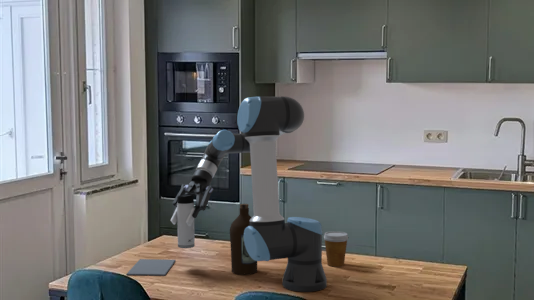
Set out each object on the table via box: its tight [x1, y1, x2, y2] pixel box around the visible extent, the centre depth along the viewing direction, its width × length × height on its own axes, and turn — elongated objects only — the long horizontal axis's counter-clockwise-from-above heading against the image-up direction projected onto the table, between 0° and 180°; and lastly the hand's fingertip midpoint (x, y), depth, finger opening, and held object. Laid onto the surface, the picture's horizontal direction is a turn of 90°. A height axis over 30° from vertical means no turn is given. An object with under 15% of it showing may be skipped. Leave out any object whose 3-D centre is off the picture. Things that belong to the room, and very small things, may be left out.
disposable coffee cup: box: [322, 231, 349, 268], centre depth 252 cm, size 10×10×12 cm
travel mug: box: [176, 193, 196, 249], centre depth 247 cm, size 6×7×20 cm
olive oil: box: [229, 203, 258, 276], centre depth 242 cm, size 11×11×25 cm
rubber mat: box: [126, 258, 176, 277], centre depth 248 cm, size 20×14×1 cm
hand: (180, 223), depth 244 cm, fingers closed on travel mug, 6 cm apart
